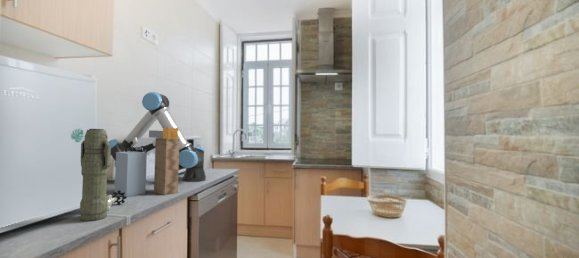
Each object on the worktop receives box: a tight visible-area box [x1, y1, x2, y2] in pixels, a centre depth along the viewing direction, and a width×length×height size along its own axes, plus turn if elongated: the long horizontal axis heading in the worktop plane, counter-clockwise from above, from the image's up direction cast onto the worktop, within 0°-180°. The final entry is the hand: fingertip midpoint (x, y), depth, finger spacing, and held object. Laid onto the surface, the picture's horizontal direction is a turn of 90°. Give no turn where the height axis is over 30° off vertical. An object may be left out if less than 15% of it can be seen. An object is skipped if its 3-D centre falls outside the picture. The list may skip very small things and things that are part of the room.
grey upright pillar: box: [114, 151, 148, 197], centre depth 154 cm, size 10×12×22 cm
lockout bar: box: [148, 128, 178, 139], centre depth 161 cm, size 6×20×6 cm, turn 57°
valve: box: [106, 190, 128, 212], centre depth 126 cm, size 7×7×12 cm
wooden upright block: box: [153, 138, 180, 196], centre depth 158 cm, size 8×10×30 cm
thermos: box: [79, 128, 112, 222], centre depth 112 cm, size 9×12×35 cm
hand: (148, 139), depth 167 cm, fingers open, 13 cm apart
